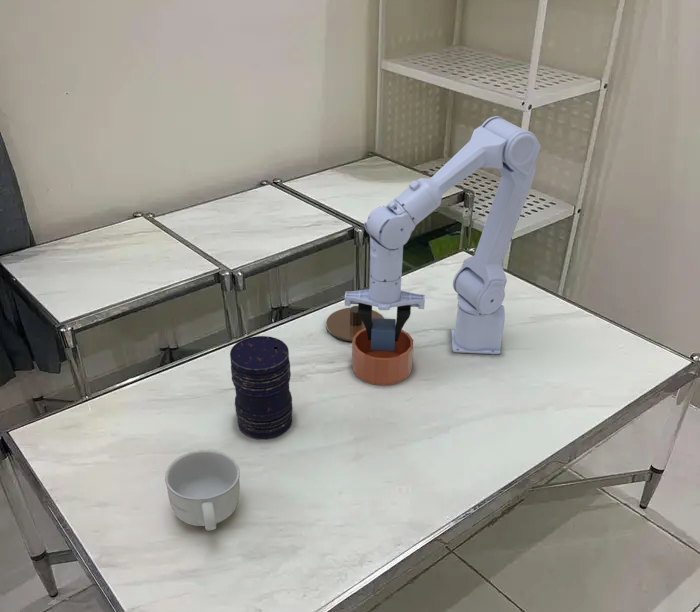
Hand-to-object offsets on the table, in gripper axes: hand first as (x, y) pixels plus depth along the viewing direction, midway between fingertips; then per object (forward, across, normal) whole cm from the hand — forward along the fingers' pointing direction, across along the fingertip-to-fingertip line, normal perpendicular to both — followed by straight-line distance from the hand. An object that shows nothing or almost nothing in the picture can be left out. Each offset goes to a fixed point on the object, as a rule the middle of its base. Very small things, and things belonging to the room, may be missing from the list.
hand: (383, 337), depth 137 cm
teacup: (+7, -25, -41) cm, 49 cm away
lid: (+6, -6, +14) cm, 16 cm away
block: (+1, 0, 0) cm, 1 cm away
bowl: (+7, 0, 0) cm, 7 cm away
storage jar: (+7, -20, -18) cm, 28 cm away
